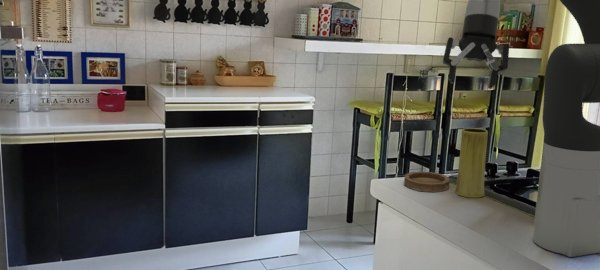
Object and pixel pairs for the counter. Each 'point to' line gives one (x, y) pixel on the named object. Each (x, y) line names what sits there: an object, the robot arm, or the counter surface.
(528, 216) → the counter surface
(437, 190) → the round tray
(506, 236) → the counter surface
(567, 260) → the counter surface
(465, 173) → the vase
